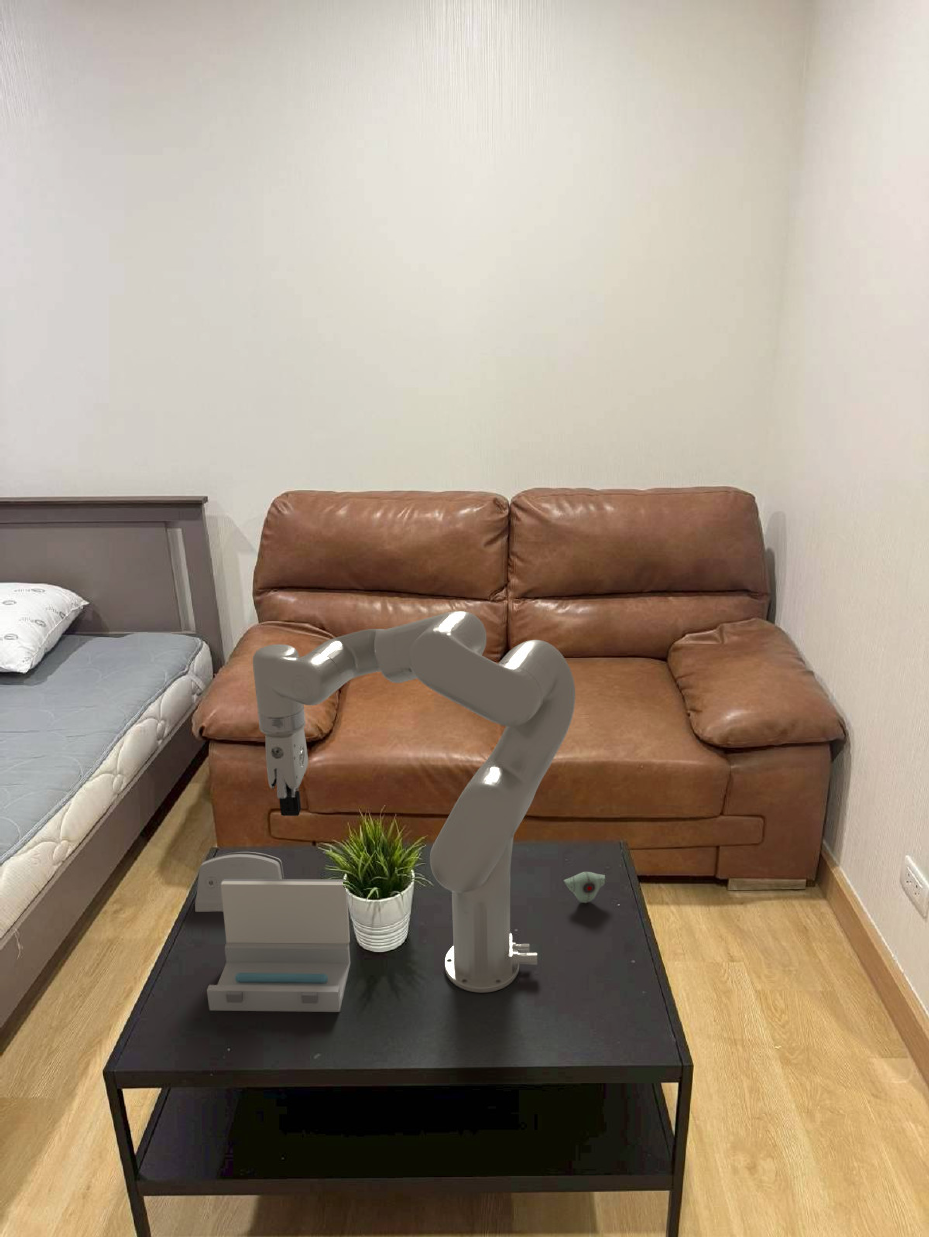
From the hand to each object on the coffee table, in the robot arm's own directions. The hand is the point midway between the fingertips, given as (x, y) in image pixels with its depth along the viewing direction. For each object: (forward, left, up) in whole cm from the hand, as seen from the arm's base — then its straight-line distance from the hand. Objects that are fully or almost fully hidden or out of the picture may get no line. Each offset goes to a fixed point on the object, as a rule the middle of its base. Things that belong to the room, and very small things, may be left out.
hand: (291, 813), depth 155 cm
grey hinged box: (0, +16, -23) cm, 28 cm away
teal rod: (0, +16, -22) cm, 27 cm away
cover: (0, +10, -13) cm, 17 cm away
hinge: (+13, -7, -23) cm, 28 cm away
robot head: (-52, -6, -23) cm, 57 cm away
